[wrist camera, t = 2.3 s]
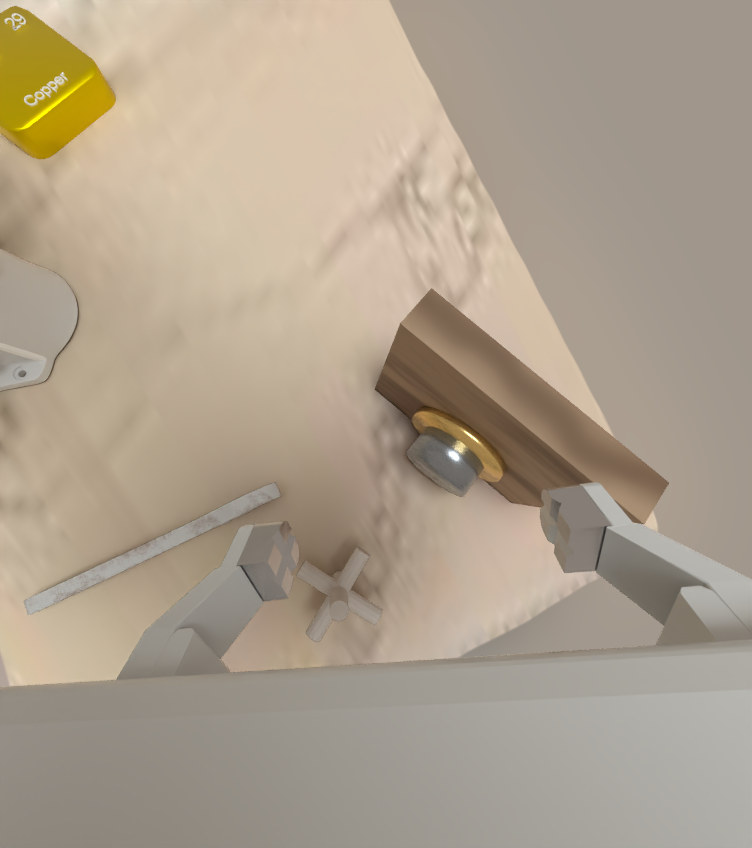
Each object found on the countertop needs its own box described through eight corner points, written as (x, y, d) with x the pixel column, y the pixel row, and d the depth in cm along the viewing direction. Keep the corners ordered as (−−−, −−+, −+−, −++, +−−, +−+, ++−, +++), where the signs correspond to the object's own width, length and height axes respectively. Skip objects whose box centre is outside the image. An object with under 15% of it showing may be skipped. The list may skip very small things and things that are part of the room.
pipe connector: (282, 594, 40) (262, 632, 30) (327, 521, 42) (323, 535, 32) (351, 638, 40) (355, 690, 30) (394, 563, 42) (410, 590, 32)
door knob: (456, 503, 43) (499, 514, 32) (386, 445, 44) (402, 434, 32) (478, 474, 44) (527, 473, 33) (409, 416, 45) (433, 395, 33)
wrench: (64, 583, 41) (288, 478, 42) (69, 598, 40) (294, 491, 42) (-13, 614, 33) (267, 483, 34) (-7, 632, 32) (274, 499, 34)
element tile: (44, 167, 46) (9, 132, 41) (-41, 102, 46) (-85, 60, 41) (124, 101, 48) (100, 61, 44) (44, 41, 49) (12, -6, 44)
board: (511, 502, 45) (644, 524, 25) (374, 389, 45) (400, 323, 26) (551, 446, 47) (703, 424, 27) (419, 337, 47) (475, 239, 27)
